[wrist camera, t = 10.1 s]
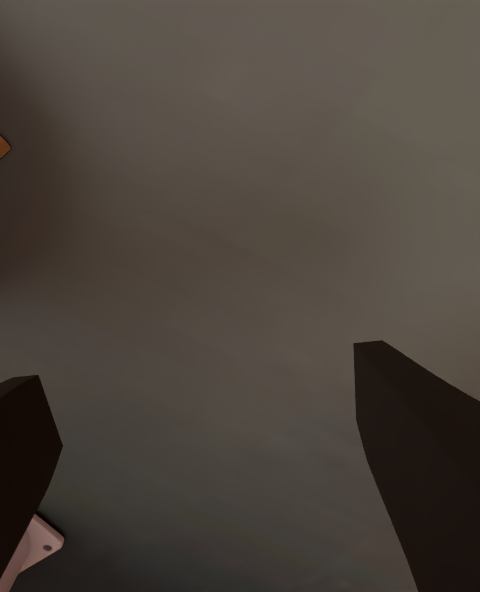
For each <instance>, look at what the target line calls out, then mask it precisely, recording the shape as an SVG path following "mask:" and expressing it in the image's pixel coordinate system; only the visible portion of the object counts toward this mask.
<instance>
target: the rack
mask: <svg viewBox="0 0 480 592" xmlns="http://www.w3.org/2000/svg"><path fill="white" fill-rule="evenodd" d="M10 148H11V147H10V146H9V145H8V143H7V142H6V141H5V140H4V139H3V138H2V137H1V136H0V158H1V157H2V156H4V155H5V154H6V153H7V152H8V151H9V150H10Z"/></svg>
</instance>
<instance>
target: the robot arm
mask: <svg viewBox="0 0 480 592" xmlns="http://www.w3.org/2000/svg"><path fill="white" fill-rule="evenodd" d="M354 370H355V397H356V421H357V424H358V428H359V432H360V436H361V440H362V444H363V447H364V451H365V455H366V458H367V461H368V464H369V467H370V469H371V472H372V474H373V477H374V479H375V482H376V484H377V487H378V489H379V492H380V494H381V497H382V499H383V502H384V504H385V506H386V509H387V511H388V514H389V516H390V519H391V521H392V524H393V526H394V529H395V531H396V534H397V536H398V538H399V541H400V543H401V546H402V548H403V551H404V553H405V556H406V558H407V561H408V564H409V566H410V569H411V572H412V575H413V577H414V580H415V583H416V586H417V589H418V592H480V401H478V400H476V399H474V398H473V397H471V396H469V395H467V394H465V393H464V392H462V391H460V390H459V389H457V388H455V387H453V386H452V385H450V384H448V383H447V382H445V381H444V380H442V379H440V378H439V377H437V376H436V375H434V374H432V373H431V372H429V371H428V370H426V369H425V368H423V367H422V366H420V365H419V364H417V363H416V362H414V361H413V360H411V359H410V358H408V357H407V356H405V355H404V354H402V353H401V352H399V351H398V350H396V349H395V348H393V347H392V346H390V345H389V344H387V343H385V342H384V341H372V342H362V343H354ZM62 447H63V445H62V442H61V439H60V436H59V433H58V430H57V428H56V425H55V422H54V419H53V416H52V413H51V410H50V407H49V404H48V401H47V398H46V396H45V393H44V390H43V387H42V384H41V381H40V378H39V375H33V376H23V377H13V378H11V379H8V380H6V381H4V382H2V383H0V592H9V591H10V589H11V587H12V585H13V583H14V581H15V579H16V577H17V575H18V574H19V573H20V572H22V571H24V570H25V569H27V568H29V567H30V566H32V565H34V564H35V563H37V562H39V561H40V560H42V559H44V558H45V557H47V556H49V555H50V554H52V553H54V552H55V551H57V550H59V549H60V548H61V547H62V545H63V543H64V538H63V537H62V535H60V534H59V533H58V532H57V531H55V530H54V529H53V528H52V527H51V526H49V525H48V524H47V523H46V522H44V521H43V520H42V519H41V518H40V517H38V516H37V515H36V514H35V512H36V510H37V508H38V507H39V505H40V503H41V501H42V499H43V497H44V495H45V493H46V491H47V489H48V487H49V484H50V481H51V479H52V476H53V473H54V471H55V468H56V465H57V462H58V459H59V456H60V453H61V450H62Z"/></svg>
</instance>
